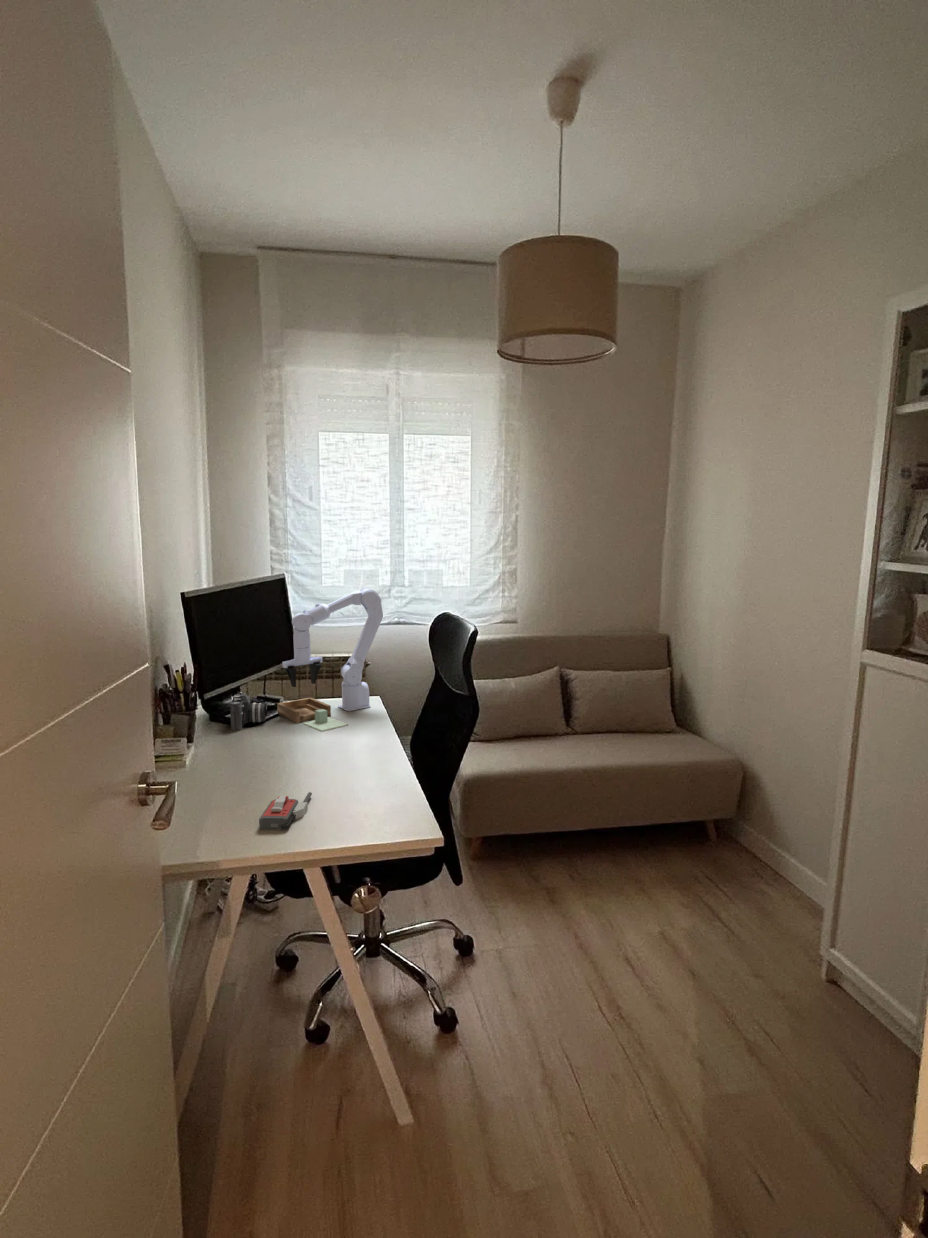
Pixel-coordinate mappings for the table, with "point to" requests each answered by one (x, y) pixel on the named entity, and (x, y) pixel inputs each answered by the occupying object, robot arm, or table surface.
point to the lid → (324, 721)
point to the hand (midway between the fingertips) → (303, 684)
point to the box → (301, 709)
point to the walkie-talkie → (283, 812)
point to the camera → (245, 711)
